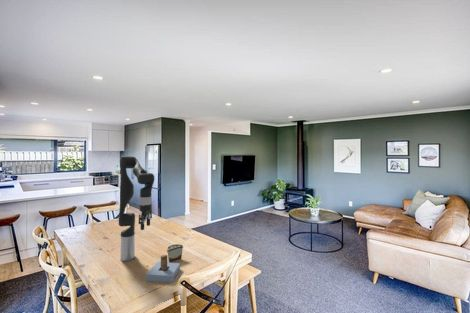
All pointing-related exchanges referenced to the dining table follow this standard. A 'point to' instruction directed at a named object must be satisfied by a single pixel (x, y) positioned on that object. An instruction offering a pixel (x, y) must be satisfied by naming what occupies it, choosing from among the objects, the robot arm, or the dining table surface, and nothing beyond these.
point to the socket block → (163, 272)
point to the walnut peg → (164, 263)
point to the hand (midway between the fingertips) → (145, 227)
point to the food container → (174, 252)
